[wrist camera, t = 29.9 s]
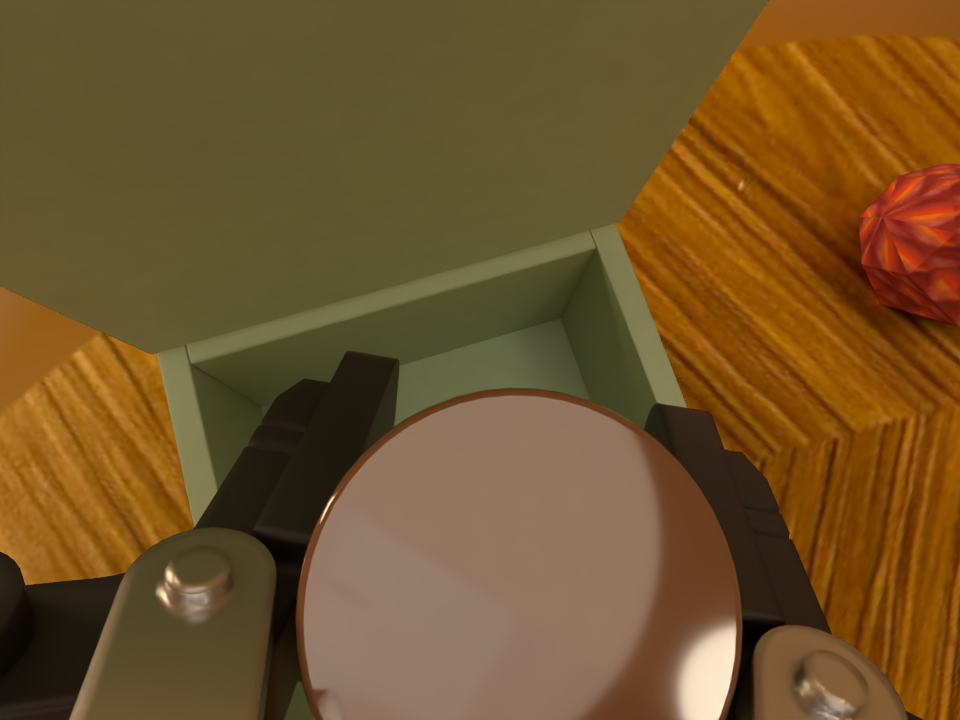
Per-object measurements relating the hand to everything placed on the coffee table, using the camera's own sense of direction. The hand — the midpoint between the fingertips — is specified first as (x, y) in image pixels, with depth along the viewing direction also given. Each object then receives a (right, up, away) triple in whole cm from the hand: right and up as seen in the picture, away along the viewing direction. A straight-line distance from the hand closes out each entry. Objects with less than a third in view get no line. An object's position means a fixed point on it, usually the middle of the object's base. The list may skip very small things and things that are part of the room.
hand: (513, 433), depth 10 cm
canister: (-1, -3, +5) cm, 6 cm away
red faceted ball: (+18, +5, +19) cm, 26 cm away
